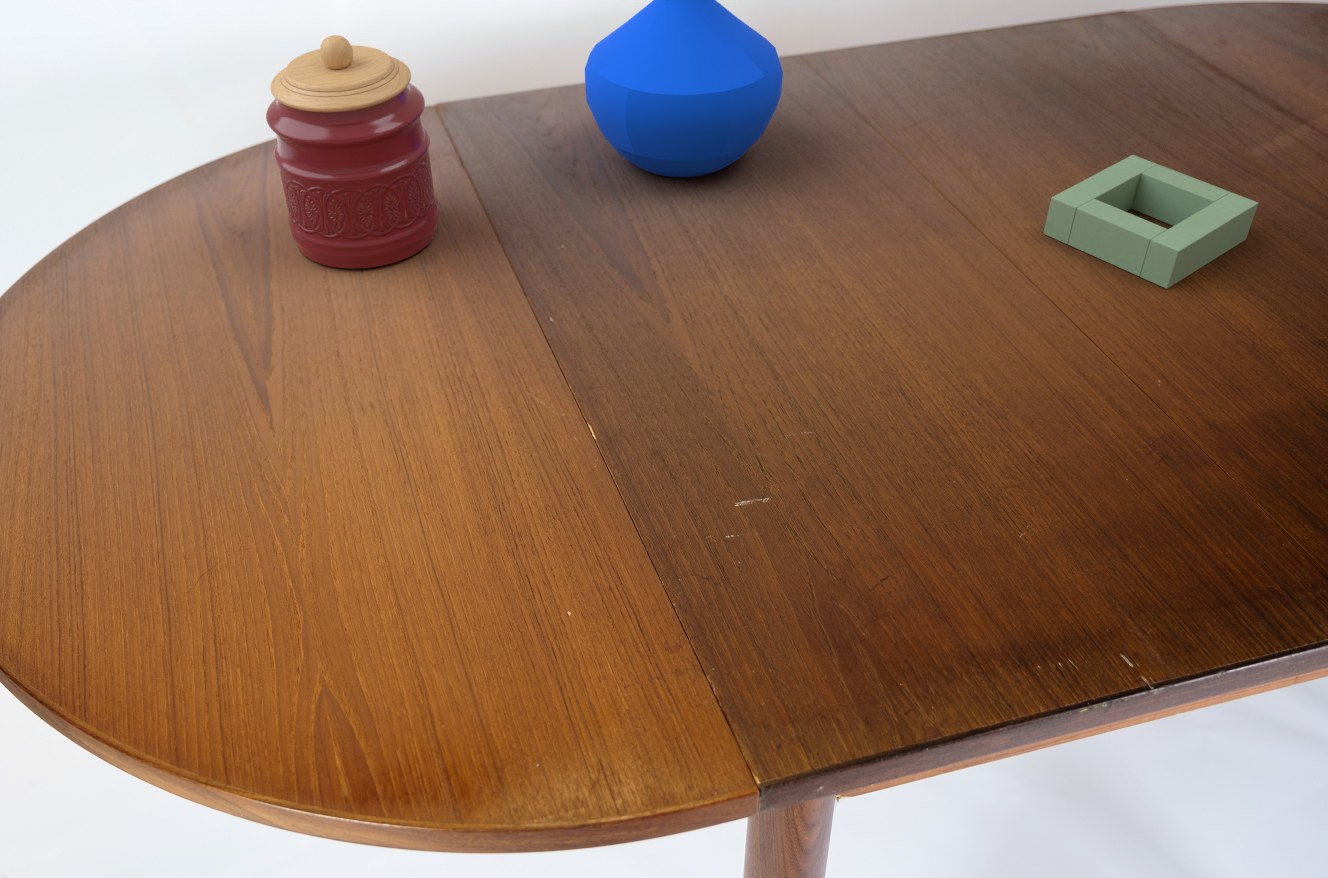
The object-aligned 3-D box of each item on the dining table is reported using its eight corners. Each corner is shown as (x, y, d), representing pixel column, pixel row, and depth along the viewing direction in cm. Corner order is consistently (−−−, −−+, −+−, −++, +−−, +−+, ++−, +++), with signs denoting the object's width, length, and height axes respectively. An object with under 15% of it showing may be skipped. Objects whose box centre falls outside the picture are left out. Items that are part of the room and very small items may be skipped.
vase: (777, 115, 126) (790, -83, 113) (776, 203, 112) (792, -12, 100) (598, 111, 128) (592, -84, 115) (576, 197, 114) (566, -15, 101)
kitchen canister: (430, 190, 116) (405, -1, 104) (451, 259, 106) (426, 57, 95) (289, 210, 113) (248, 17, 102) (297, 282, 104) (252, 78, 92)
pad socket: (1246, 239, 105) (1259, 202, 103) (1166, 289, 100) (1178, 251, 98) (1123, 190, 112) (1132, 154, 110) (1042, 233, 107) (1051, 197, 105)
